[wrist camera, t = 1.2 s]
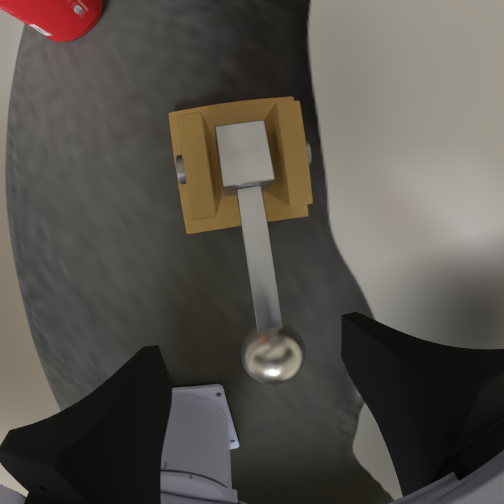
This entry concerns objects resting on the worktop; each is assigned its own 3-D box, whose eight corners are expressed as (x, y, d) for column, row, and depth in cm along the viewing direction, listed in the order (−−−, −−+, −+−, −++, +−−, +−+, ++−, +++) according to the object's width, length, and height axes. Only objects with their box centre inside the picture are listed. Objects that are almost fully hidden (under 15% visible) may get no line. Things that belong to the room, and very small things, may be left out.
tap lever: (301, 364, 15) (314, 388, 12) (245, 373, 15) (247, 400, 12) (268, 139, 15) (274, 115, 12) (210, 147, 14) (203, 124, 11)
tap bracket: (305, 214, 20) (349, 240, 13) (188, 231, 20) (166, 268, 12) (290, 99, 18) (327, 61, 10) (170, 115, 17) (137, 83, 10)
